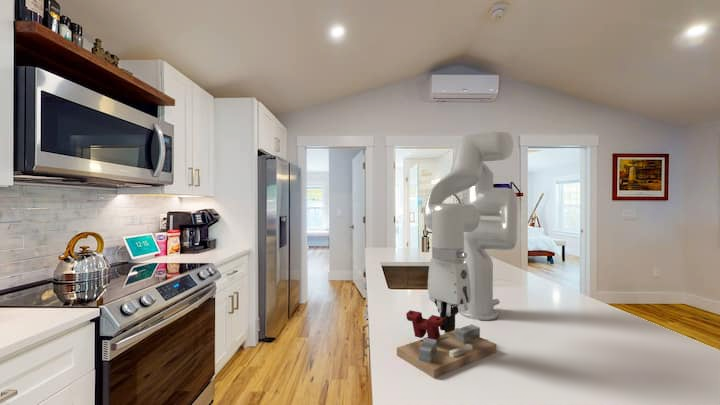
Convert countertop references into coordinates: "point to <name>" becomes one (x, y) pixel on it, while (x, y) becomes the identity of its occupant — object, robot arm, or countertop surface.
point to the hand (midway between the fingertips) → (447, 329)
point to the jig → (447, 351)
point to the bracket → (425, 325)
